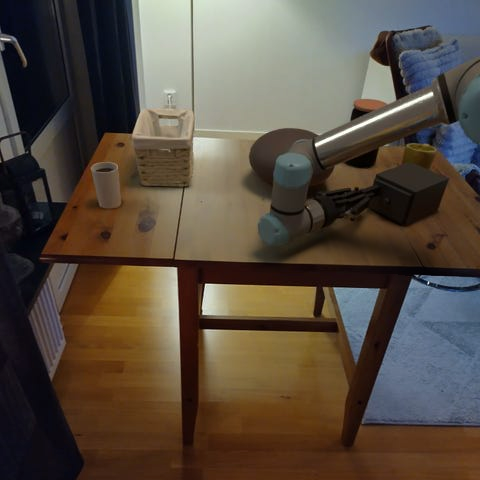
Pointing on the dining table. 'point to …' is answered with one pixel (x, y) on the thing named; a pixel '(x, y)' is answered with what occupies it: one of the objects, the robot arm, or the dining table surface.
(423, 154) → the mug
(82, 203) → the dining table surface
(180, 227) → the dining table surface
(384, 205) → the drawer
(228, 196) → the dining table surface
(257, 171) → the flattened ellipsoid
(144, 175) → the basket
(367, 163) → the coffee jar
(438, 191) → the cabinet
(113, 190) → the white coffee cup
